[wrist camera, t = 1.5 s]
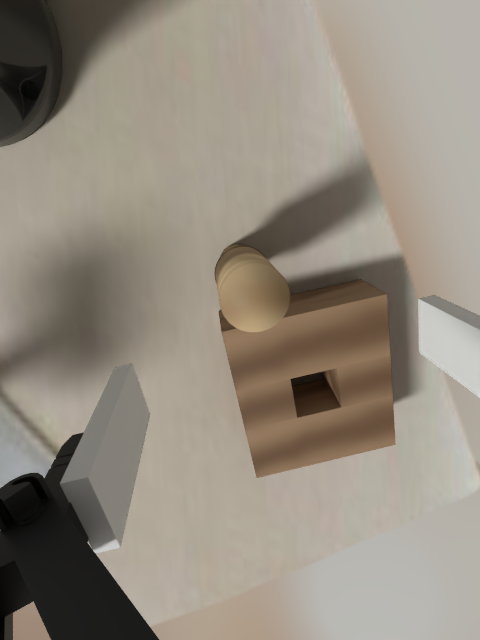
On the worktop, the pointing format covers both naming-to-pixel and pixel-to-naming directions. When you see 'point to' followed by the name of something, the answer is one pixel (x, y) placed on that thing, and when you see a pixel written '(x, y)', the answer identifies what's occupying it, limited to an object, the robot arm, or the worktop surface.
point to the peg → (250, 289)
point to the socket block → (319, 396)
